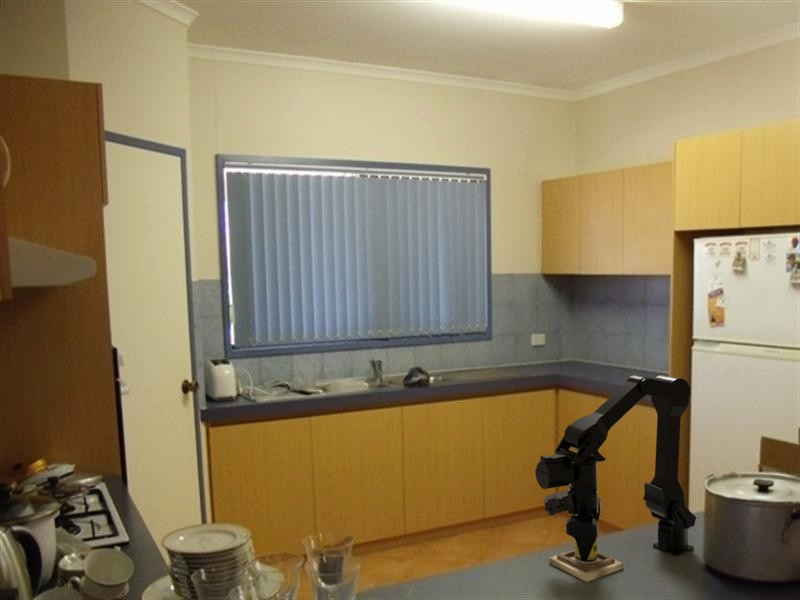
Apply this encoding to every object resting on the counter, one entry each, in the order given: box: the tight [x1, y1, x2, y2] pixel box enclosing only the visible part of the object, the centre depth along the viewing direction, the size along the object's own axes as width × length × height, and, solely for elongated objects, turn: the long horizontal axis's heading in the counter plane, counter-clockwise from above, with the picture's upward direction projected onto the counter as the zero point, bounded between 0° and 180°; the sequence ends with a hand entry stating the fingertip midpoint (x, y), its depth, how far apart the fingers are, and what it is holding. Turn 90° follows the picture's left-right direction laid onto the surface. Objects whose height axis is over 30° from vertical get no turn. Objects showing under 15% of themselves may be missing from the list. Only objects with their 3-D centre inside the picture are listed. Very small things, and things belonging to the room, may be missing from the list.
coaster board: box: [548, 548, 624, 583], centre depth 143 cm, size 11×11×2 cm
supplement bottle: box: [573, 537, 598, 564], centre depth 143 cm, size 5×5×8 cm
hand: (585, 552), depth 143 cm, fingers open, 8 cm apart
